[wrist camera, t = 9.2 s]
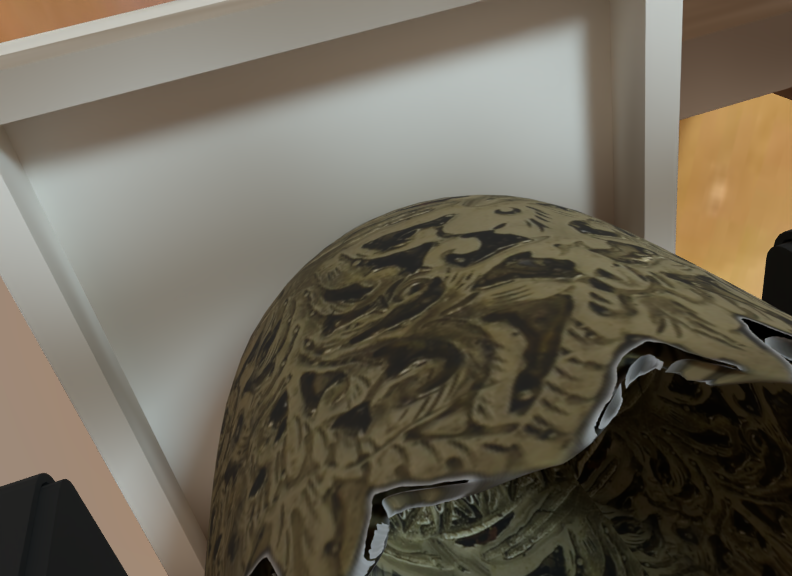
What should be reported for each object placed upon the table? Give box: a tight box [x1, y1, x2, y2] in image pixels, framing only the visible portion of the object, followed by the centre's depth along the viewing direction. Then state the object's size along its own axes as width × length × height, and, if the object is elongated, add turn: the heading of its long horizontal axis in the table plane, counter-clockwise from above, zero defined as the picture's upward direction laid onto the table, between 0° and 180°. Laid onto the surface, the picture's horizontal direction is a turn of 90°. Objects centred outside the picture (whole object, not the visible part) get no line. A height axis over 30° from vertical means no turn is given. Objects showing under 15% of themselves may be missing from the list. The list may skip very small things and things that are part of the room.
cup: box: [205, 195, 792, 576], centre depth 10 cm, size 8×7×8 cm
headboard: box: [0, 0, 792, 576], centre depth 19 cm, size 10×25×22 cm, turn 101°
